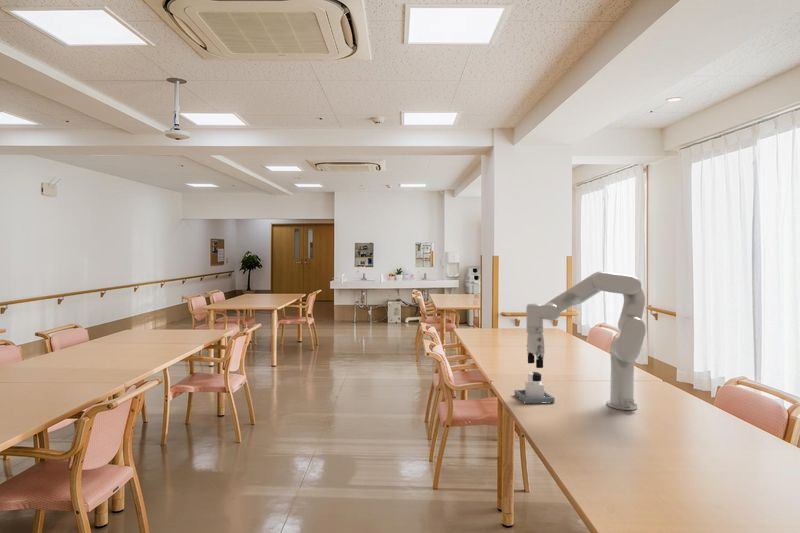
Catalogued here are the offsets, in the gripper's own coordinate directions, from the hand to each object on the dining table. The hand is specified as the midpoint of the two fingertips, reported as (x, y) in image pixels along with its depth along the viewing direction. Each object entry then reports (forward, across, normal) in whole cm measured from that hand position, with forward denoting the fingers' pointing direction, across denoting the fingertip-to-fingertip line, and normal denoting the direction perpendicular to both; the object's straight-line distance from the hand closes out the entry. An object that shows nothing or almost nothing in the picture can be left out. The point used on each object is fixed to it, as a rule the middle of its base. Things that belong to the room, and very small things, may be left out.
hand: (535, 365), depth 216 cm
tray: (+16, 0, +1) cm, 16 cm away
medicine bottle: (+16, 0, +1) cm, 16 cm away
